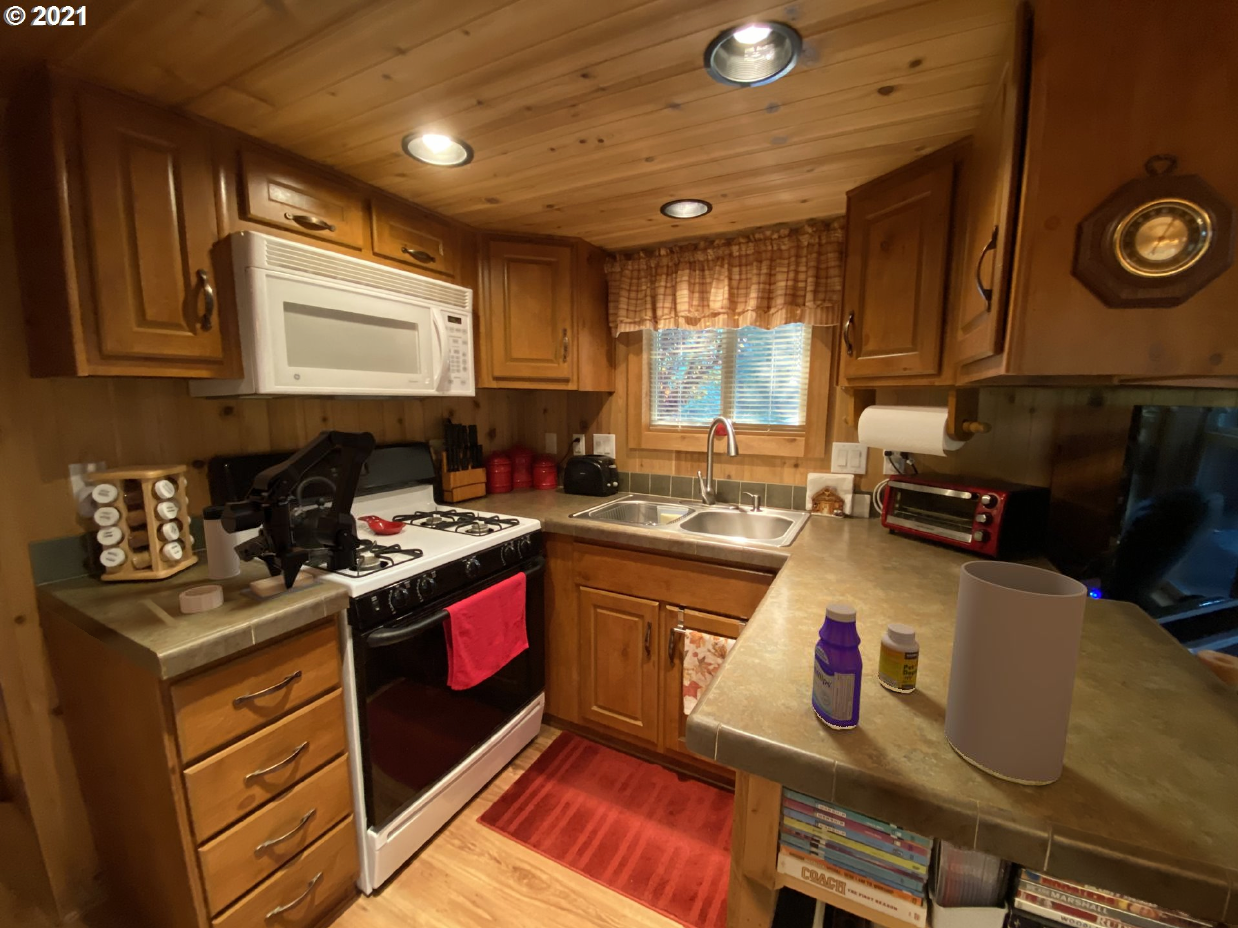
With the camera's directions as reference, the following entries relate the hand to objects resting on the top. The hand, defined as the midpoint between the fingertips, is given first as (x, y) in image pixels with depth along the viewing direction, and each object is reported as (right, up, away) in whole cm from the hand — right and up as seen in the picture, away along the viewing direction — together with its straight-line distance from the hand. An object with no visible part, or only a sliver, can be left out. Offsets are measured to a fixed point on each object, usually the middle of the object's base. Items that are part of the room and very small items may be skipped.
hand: (282, 584), depth 119 cm
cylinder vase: (+135, -10, -53) cm, 145 cm away
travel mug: (-20, -1, +8) cm, 22 cm away
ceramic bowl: (-10, -3, -11) cm, 15 cm away
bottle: (+116, -9, -46) cm, 125 cm away
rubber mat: (0, -2, 0) cm, 2 cm away
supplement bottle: (+130, -8, -38) cm, 135 cm away
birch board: (0, -1, 0) cm, 0 cm away
